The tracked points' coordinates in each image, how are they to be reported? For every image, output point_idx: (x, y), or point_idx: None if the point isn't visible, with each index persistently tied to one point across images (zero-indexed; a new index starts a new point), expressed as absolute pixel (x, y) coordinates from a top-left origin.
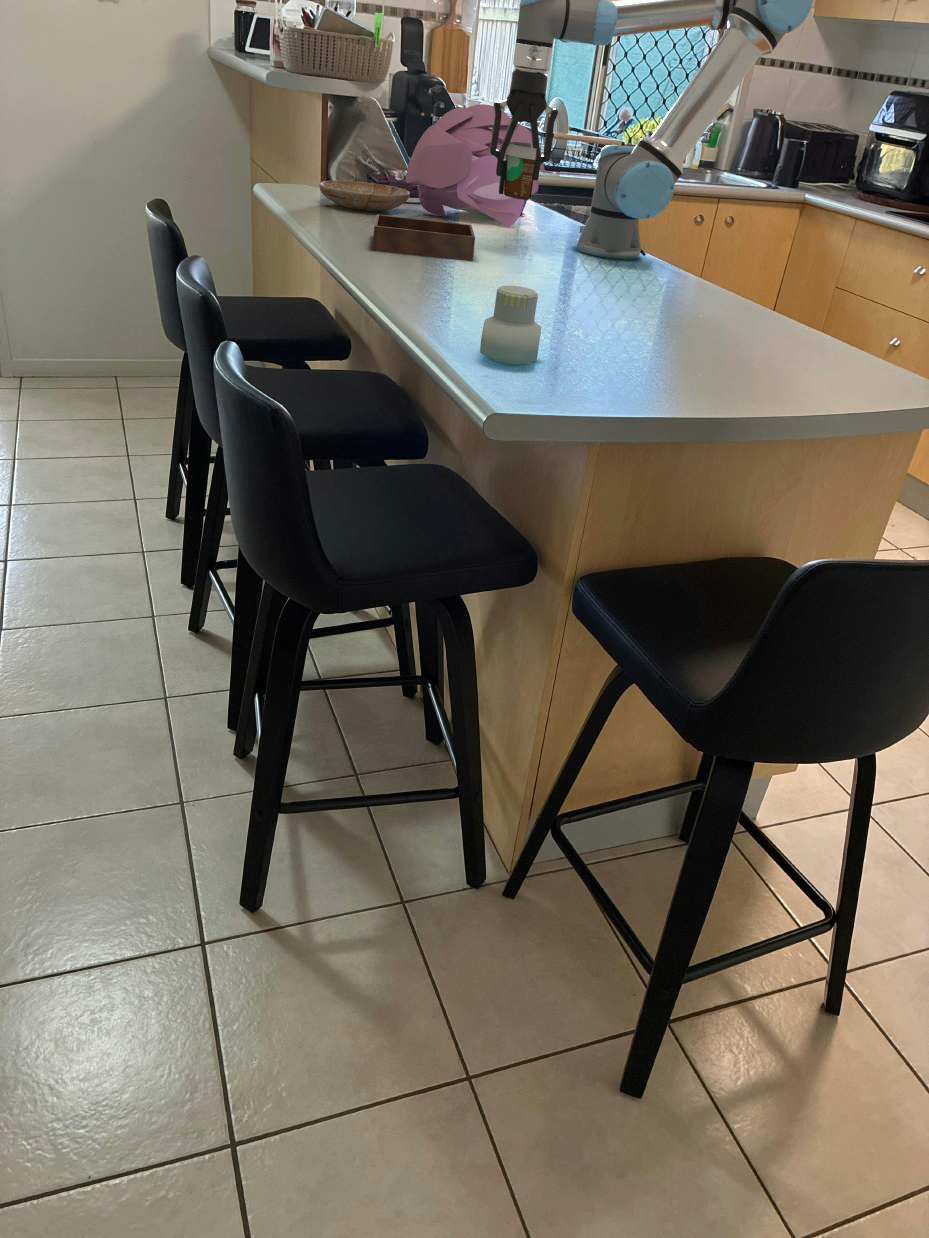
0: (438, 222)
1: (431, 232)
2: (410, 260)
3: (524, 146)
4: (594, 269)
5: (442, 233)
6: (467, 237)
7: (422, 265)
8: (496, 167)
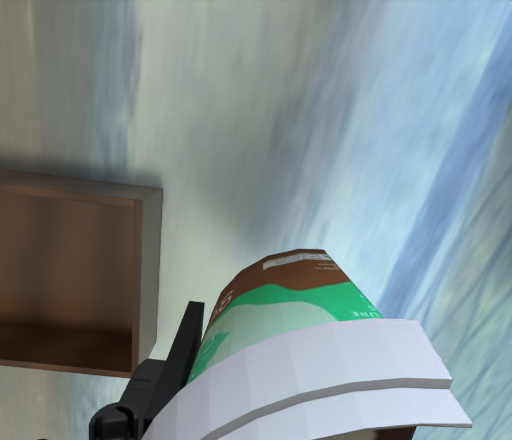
0: (36, 195)
1: (24, 367)
2: (22, 377)
3: (367, 400)
4: (446, 322)
5: (52, 370)
6: (119, 375)
7: (49, 408)
8: (125, 389)
